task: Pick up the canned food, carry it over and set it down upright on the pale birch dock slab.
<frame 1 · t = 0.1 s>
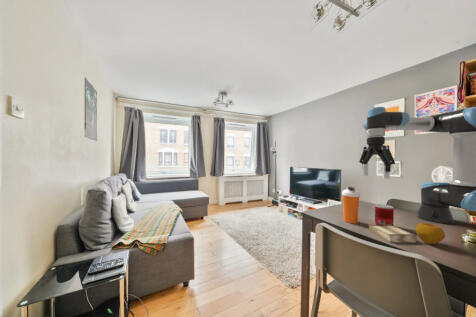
hand: (374, 176, 92), 28 cm above the table, fingers open, 13 cm apart
canned food: (383, 225, 97), on the table
shaker bottle: (350, 221, 103), on the table
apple: (429, 243, 77), on the table
dock: (390, 236, 84), on the table
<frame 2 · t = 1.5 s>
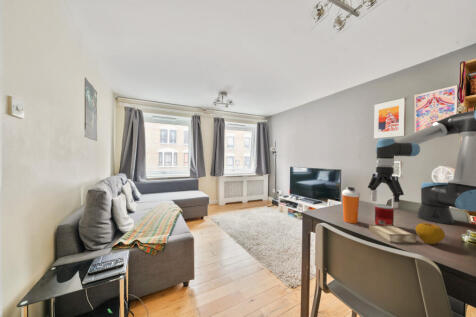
hand: (383, 204, 97), 12 cm above the table, fingers open, 13 cm apart
nothing on the table moved.
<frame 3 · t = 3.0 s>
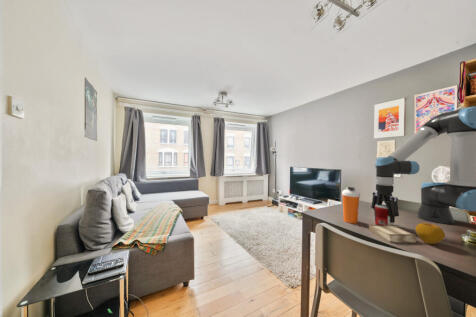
hand: (383, 224, 97), 0 cm above the table, fingers closed on canned food, 8 cm apart
canned food: (383, 225, 97), on the table, touching gripper
everything else where it was.
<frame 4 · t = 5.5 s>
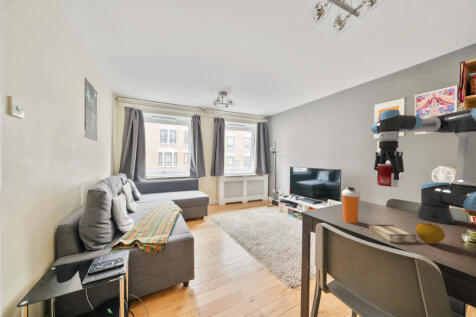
hand: (387, 185, 89), 24 cm above the table, fingers closed on canned food, 8 cm apart
canned food: (387, 185, 89), point 24 cm above the table, touching gripper
everything else where it was.
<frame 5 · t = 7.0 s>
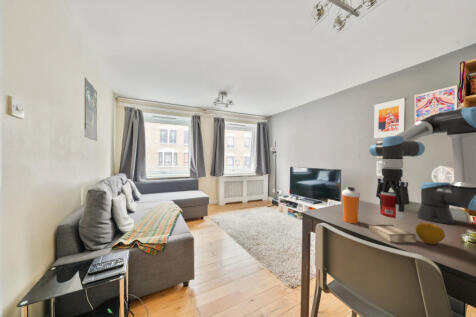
hand: (390, 215, 84), 10 cm above the table, fingers closed on canned food, 8 cm apart
canned food: (390, 216, 84), point 10 cm above the table, touching gripper
everything else where it was.
when the fingers open (5 cm above the table, at t = 8.3 s): canned food drops 1 cm, resting on dock.
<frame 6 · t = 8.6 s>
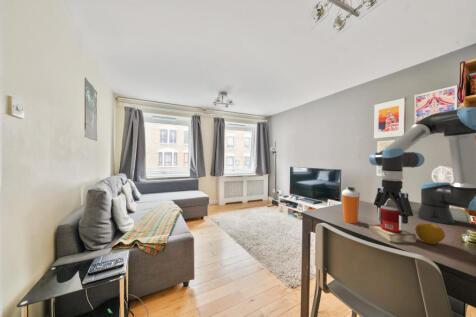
hand: (391, 224, 84), 5 cm above the table, fingers open, 11 cm apart
canned food: (391, 230, 84), point 3 cm above the table, touching dock
everything else where it was.
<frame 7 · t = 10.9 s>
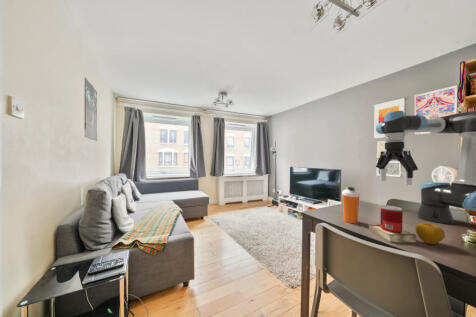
hand: (394, 182, 90), 25 cm above the table, fingers open, 13 cm apart
nothing on the table moved.
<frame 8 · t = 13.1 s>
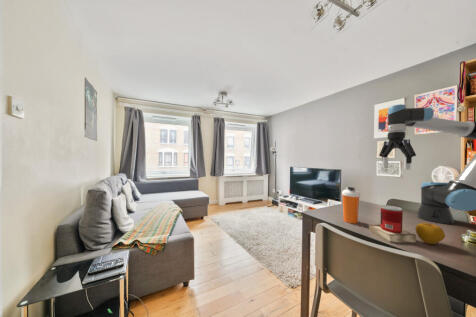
hand: (395, 168, 101), 32 cm above the table, fingers open, 13 cm apart
nothing on the table moved.
at the end: canned food inside the target area on the dock (0.0 cm from its centre), point 2.8 cm above the dock's base; canned food tilted 0°; the gripper is holding nothing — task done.
